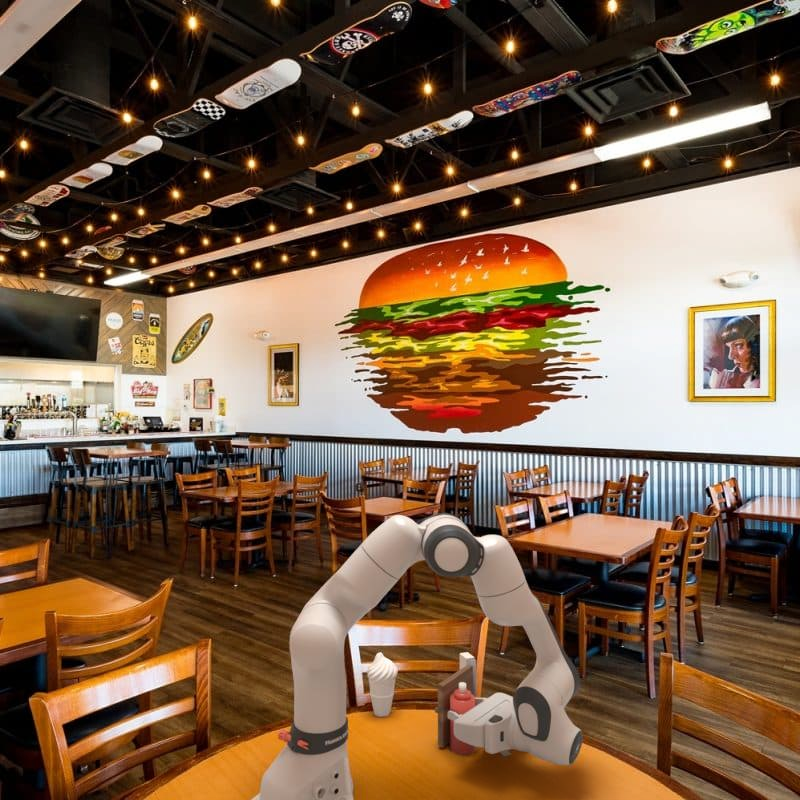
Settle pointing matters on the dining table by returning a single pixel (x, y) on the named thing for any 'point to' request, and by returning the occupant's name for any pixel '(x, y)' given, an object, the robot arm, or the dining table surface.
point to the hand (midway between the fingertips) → (459, 706)
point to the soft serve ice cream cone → (382, 684)
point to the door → (444, 694)
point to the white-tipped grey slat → (474, 680)
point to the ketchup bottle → (462, 704)
